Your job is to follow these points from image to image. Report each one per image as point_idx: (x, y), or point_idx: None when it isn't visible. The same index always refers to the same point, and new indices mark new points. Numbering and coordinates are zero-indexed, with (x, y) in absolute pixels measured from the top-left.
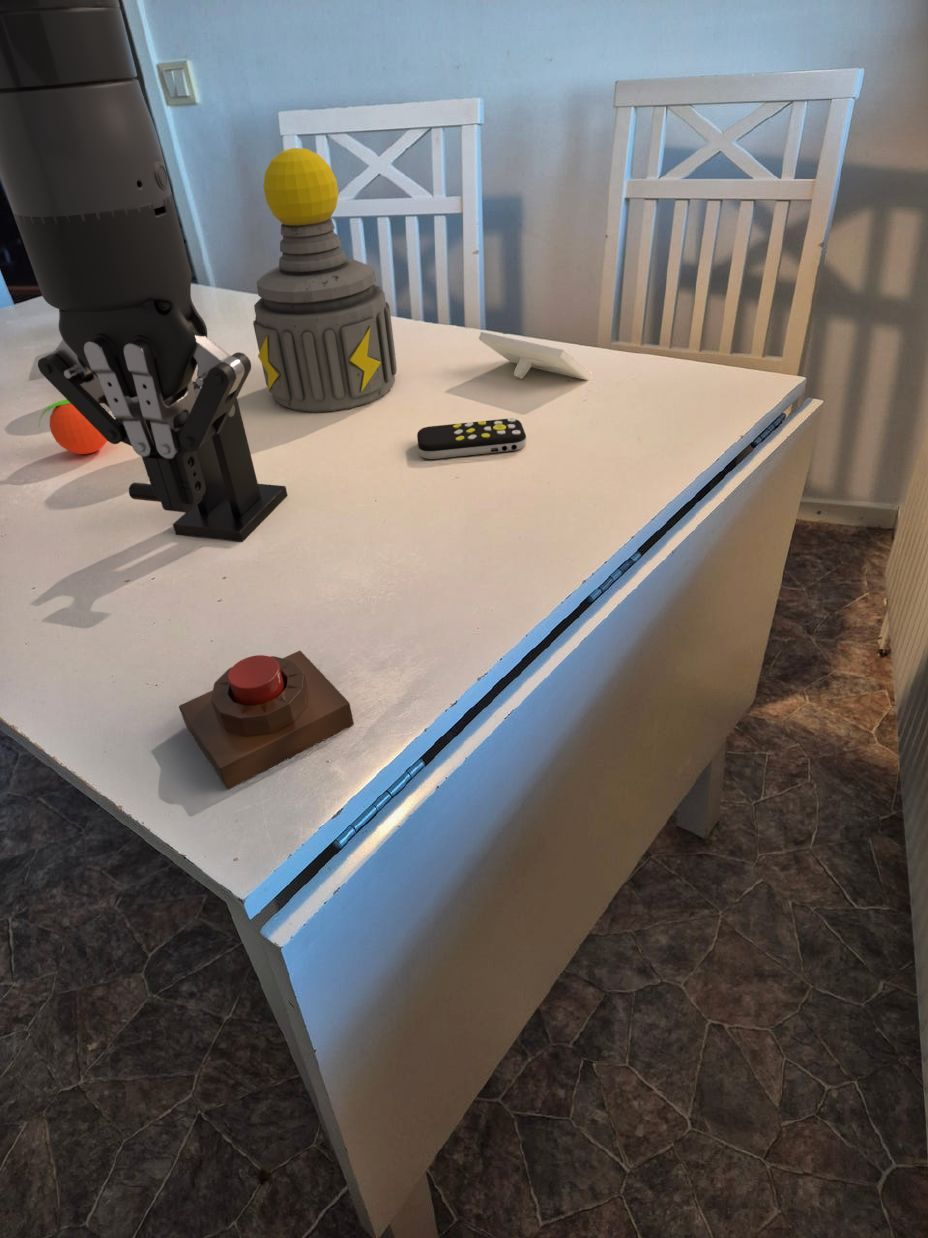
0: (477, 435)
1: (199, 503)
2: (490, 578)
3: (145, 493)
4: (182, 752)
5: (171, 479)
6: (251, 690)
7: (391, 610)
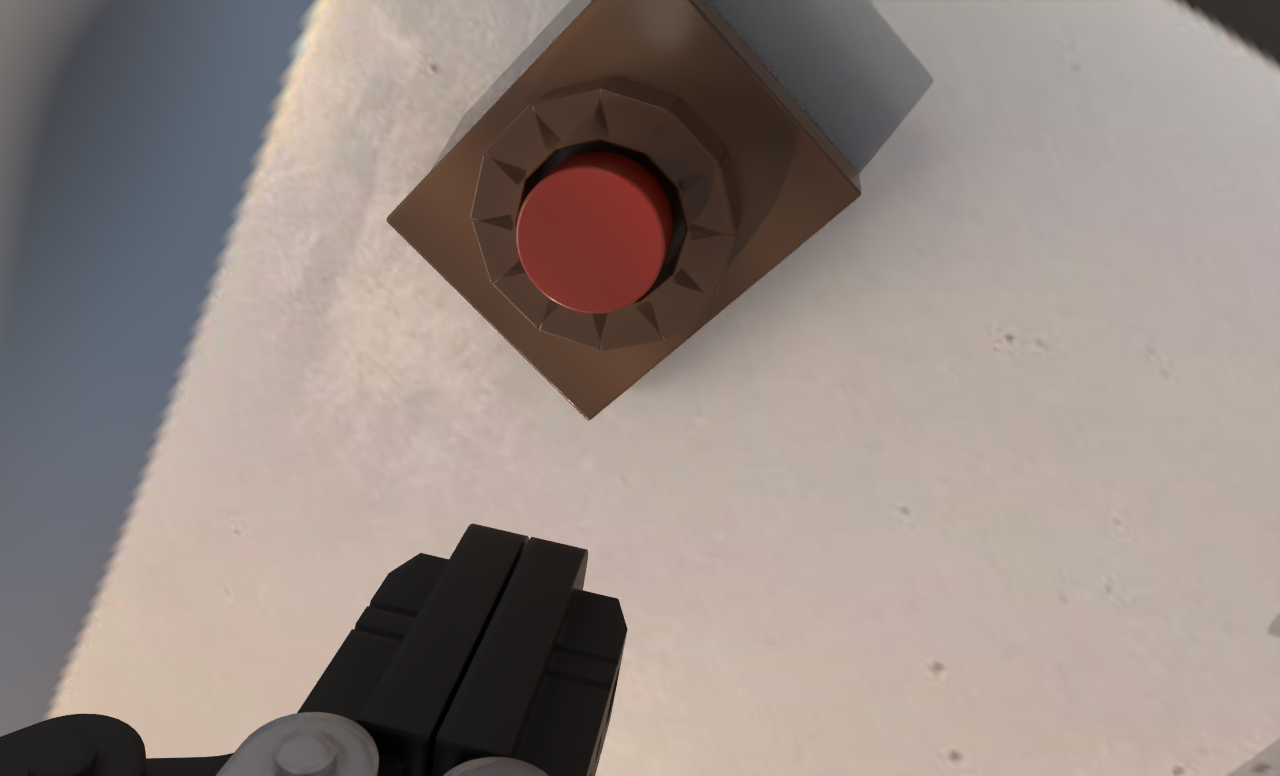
0: None
1: None
2: (264, 699)
3: None
4: (837, 77)
5: (421, 633)
6: (571, 165)
7: None
